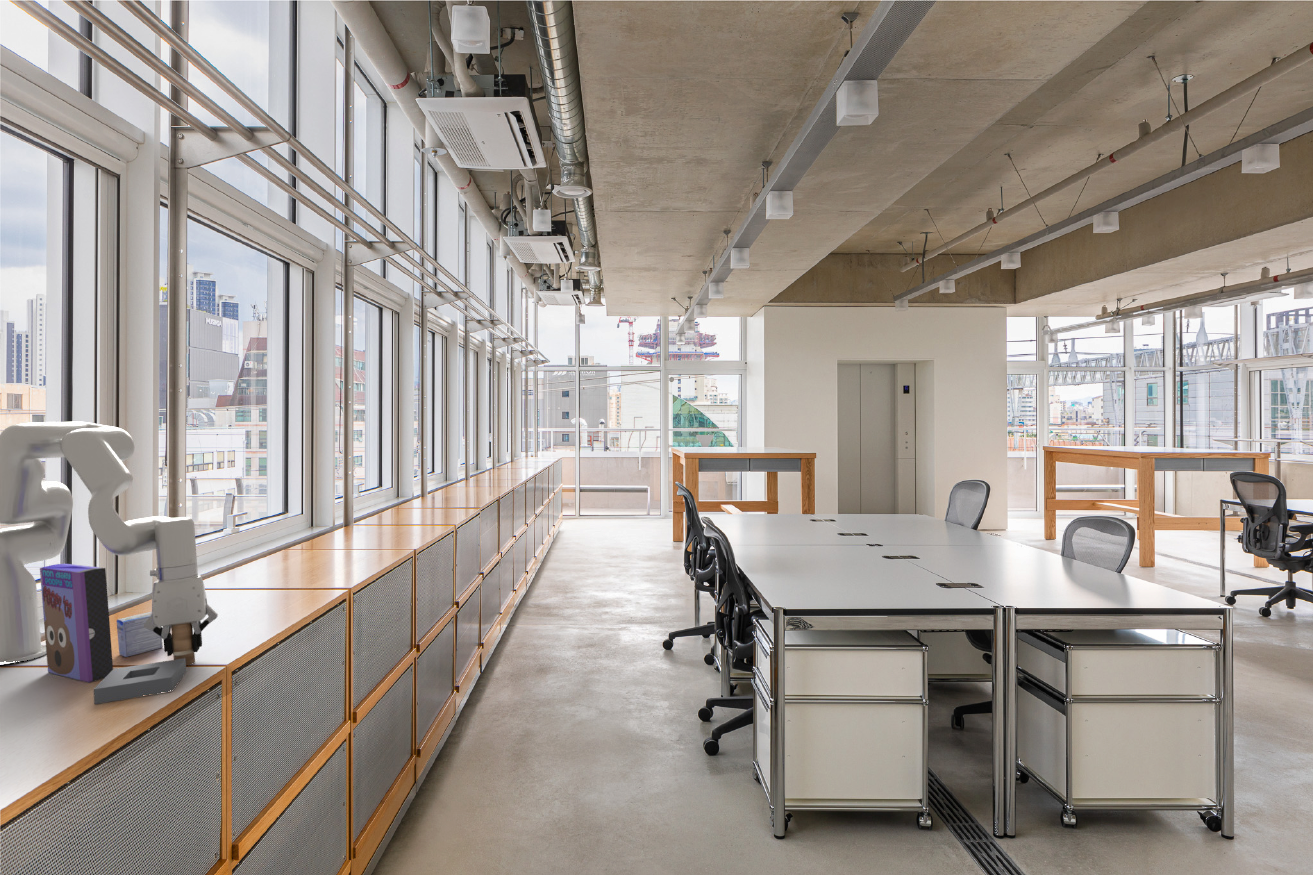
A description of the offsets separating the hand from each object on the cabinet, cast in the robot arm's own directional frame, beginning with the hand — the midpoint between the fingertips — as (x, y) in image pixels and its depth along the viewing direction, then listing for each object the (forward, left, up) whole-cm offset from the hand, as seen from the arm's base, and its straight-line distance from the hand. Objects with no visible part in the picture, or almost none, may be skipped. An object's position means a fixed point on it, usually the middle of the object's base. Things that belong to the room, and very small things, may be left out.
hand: (183, 651), depth 165 cm
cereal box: (-5, -21, -3) cm, 21 cm away
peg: (0, 0, -3) cm, 3 cm away
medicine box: (-17, -12, -3) cm, 21 cm away
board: (+13, -5, -3) cm, 14 cm away
